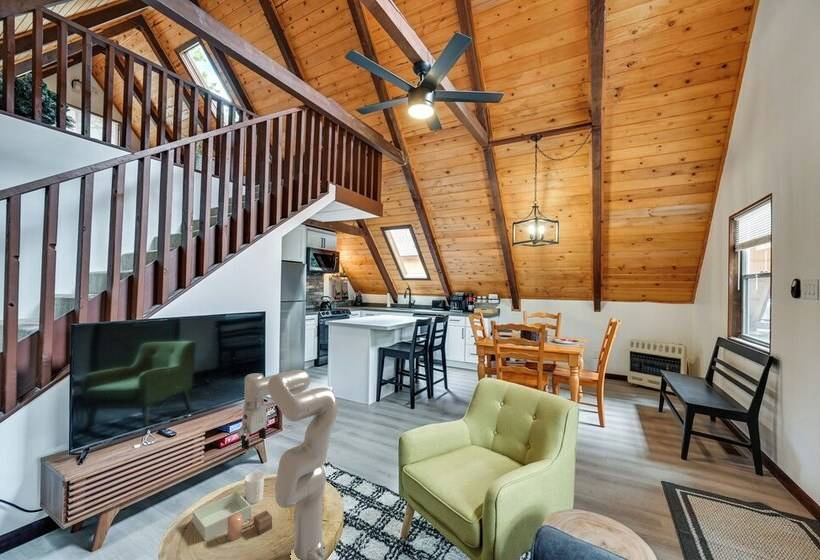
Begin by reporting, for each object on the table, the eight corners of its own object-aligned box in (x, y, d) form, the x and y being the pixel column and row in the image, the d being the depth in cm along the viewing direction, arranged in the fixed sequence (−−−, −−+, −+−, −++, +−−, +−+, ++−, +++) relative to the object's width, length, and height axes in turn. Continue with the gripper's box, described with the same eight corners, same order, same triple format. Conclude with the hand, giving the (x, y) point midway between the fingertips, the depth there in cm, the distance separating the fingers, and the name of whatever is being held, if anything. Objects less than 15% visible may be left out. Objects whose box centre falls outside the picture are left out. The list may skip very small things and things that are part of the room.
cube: (272, 528, 142) (272, 516, 141) (259, 535, 138) (259, 522, 138) (265, 522, 145) (266, 510, 145) (253, 529, 141) (253, 516, 141)
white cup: (255, 506, 154) (255, 483, 154) (240, 502, 157) (240, 479, 156) (268, 495, 162) (268, 473, 161) (253, 491, 164) (254, 470, 164)
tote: (250, 517, 147) (251, 505, 147) (204, 540, 135) (205, 527, 134) (237, 503, 156) (237, 491, 156) (192, 523, 143) (192, 511, 143)
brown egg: (244, 535, 138) (244, 517, 137) (230, 542, 134) (230, 524, 134) (238, 529, 141) (238, 511, 141) (225, 536, 137) (225, 517, 137)
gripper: (245, 412, 144) (245, 454, 145) (275, 397, 160) (275, 436, 161) (231, 409, 147) (230, 451, 147) (261, 395, 163) (261, 433, 164)
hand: (253, 443), depth 154 cm, fingers open, 9 cm apart
